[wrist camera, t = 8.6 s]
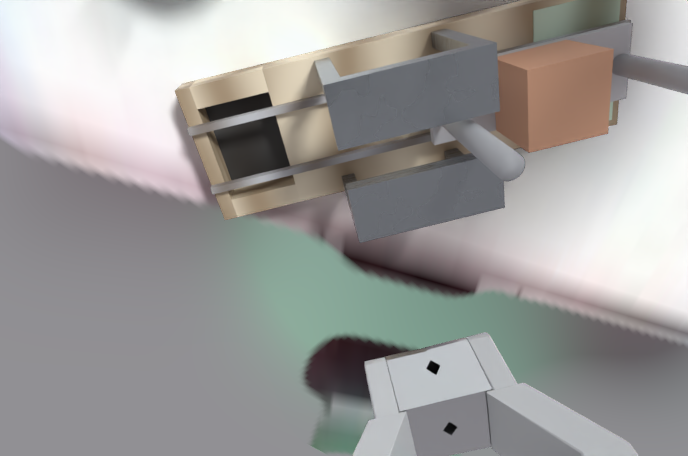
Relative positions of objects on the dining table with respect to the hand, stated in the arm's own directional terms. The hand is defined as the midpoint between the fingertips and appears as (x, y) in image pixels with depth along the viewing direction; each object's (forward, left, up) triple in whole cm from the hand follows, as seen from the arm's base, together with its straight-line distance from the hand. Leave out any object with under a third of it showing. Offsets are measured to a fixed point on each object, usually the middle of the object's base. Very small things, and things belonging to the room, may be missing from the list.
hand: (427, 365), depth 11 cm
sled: (-13, +1, -23) cm, 27 cm away
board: (-5, +1, -27) cm, 27 cm away
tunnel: (-4, +1, -24) cm, 25 cm away
